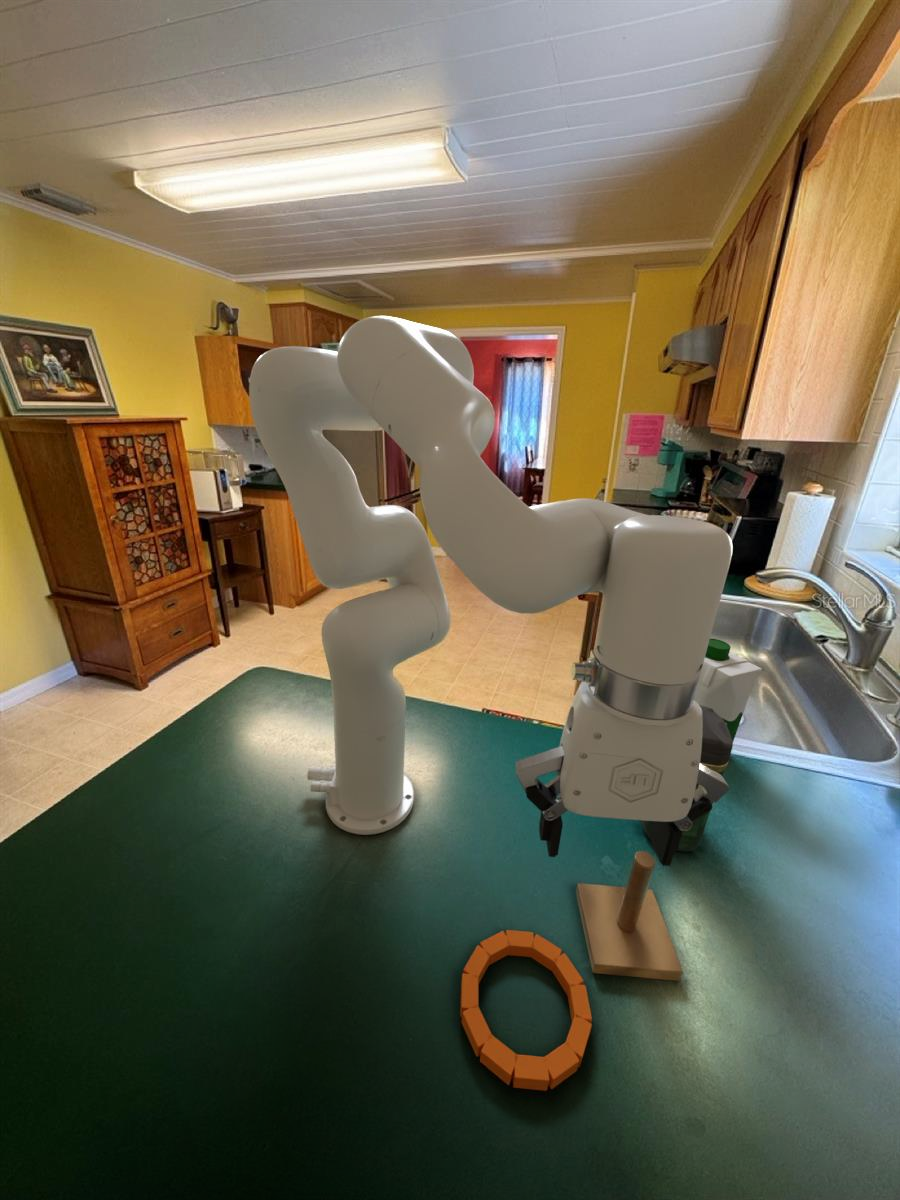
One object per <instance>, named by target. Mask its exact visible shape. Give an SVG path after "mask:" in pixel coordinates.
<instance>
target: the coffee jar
mask: <svg viewBox="0 0 900 1200" xmlns="http://www.w3.org/2000/svg"><path fill="white" fill-rule="evenodd" d="M699 706H700V707H701V709H702V718H703V726H702V748H701V759H700V764H702V765H704V766H706V767H708V768H710V769H711V770H713V771H715V772H717V773H719V774H720V775H722V776H723V775H724V773H725V771H726V768H727V767H728V764H729V762H730V758H731V754H732V752H733V746H734V745H733V744H734V742H733V743H732V738H731V735H730V732H729V730H728V727H727V725H726V723H725V722H724V720H723V719H722V718H721V717H720V716H719V715H718V714H717V713H715V712H714V711H713V709H712V708H709V707H705V706H702V705H699ZM698 786H699V784H697V783H696V788H698ZM710 813H711V811H710V812H708V813H706V814H704V815H703V816H701V817H699V818H697V819H695V820H694V821H692V824H693V826H692V828H691V829H689V830H687V831H683V833H682V836H681V839H680V843H679V846H678V849H677V851H678V852H693V851H695V850H696V849H698V848H699V846H700V844H701V840H702V838H703V836H704V835H703V834H704V832H705V829H706V825H707V822H708V819H709V816H710ZM640 823H641V827H642V830H643V832H644V834H645V835H646V836H647V837H648V838H649V839H650V833H651V829H652V825H653V821H644V820H640Z"/></svg>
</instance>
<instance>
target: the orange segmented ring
mask: <svg viewBox="0 0 900 1200" xmlns="http://www.w3.org/2000/svg"><path fill="white" fill-rule="evenodd" d="M562 951H563V950H562V948H560V947H558V946H557V945H555V944H554V943H552V942H551V941H549V940H548V939H545V938H544V937H543V936H541V935H539V934H538V933H535V935H534V932H532V931H523V930H512V929H506V930H505V931H504V930H501V931H499V932H498V933H495V934H493V935H492V936H490V937H488V938H486V939H484V940H482V941H480V942H479V944H477V945H476V947H475V949H474V951H473V952H472V953H471V955H470V957H469V958H468V961H467V962H466V964H465V966H464V968H463V970H462V971H463V972H462V974H461V981H460V983H461V984H460V1015H459V1016H460V1018H461V1025H462V1027H463V1029H464V1032H465V1034H466V1036H467V1038H468V1041H469V1043H470V1045H471V1047H472V1050H473V1052H474V1055H475V1056H476V1058H477V1057H479V1062H480V1063H481V1064H482V1065H483V1066H485V1068H487V1069H488V1070H489V1071H490V1072H492V1073H493V1074H494V1075H495V1076H497V1077H498V1079H500V1080H501V1081H502V1082H503V1083H505V1084H506V1085H508V1086H510V1084H511V1082H512V1088H515V1089H522V1090H523V1089H524V1090H533V1091H543V1092H547V1091H548V1087H549V1088H550V1090H553V1089H554V1088H556V1087H557V1086H558V1085H560V1084H562V1082H563V1081H565V1080H567V1079H568V1078H569V1077H570V1076H573V1074H574V1073H576V1072H577V1071H578V1068H580V1067H581V1063H582V1061H583V1057H584V1055H585V1051H586V1048H587V1044H588V1041H589V1037H590V1034H591V1030H592V1028H593V1024H592V1022H593V1017H592V1011H591V1006H590V1002H589V996H588V991H587V986H586V985H585V984H584V979H583V977H582V976H581V974H580V973H579V972H578V970H577V969H576V967H575V966H574V964H573V962H572V961H571V960H570V958H569V957H568V955H567V954H566V953H565V952H564V953H562ZM507 956H515V957H526V958H531V959H532V960H534V961H536V962H537V963H539V964H540V965H542V966H543V967H545V968H546V969H547V970H549V971H551V972H552V974H553V975H554V977H555V979H556V980H557V982H558V983H559V985H560V986H561V988H562V989H563V991H564V992H565V995H566V996H567V1002H568V1007H569V1013H570V1020H571V1025H570V1028H569V1031H568V1034H567V1037H566V1040H565V1042H563V1044H561V1045H560V1046H558V1047H556V1048H555V1049H554V1050H551V1052H549V1053H548V1054H546V1055H545V1056H538V1055H529V1054H528V1055H527V1054H517V1053H516V1052H514V1051H513V1050H512V1049H511V1048H509V1047H508V1046H507V1045H506V1044H504V1043H503V1042H502V1041H500V1040H499V1039H498V1038H497V1037H495V1036H494V1035H493V1034H492V1032H491V1030H490V1028H489V1025H488V1024H487V1021H486V1019H485V1017H484V1015H483V1013H482V1011H481V1009H480V1006H479V984H480V983H481V981H482V979H483V977H484V975H485V973H486V971H487V970H488V967H489V966H490V965H493V964H494V963H496V962H497V961H499V960H501V959H503V958H505V957H507Z"/></svg>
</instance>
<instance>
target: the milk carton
mask: <svg viewBox="0 0 900 1200" xmlns="http://www.w3.org/2000/svg"><path fill="white" fill-rule="evenodd" d="M762 671H763V668H762V667H759V666H757V665H756V664H754V663H751V662H749V660H747V659H746V658H744V657H741V656H739V655H737V654H735V653H733V652H731V645H730V644H729V643H728V642H726V641H724V640H721V639H717V638H711V637H710V640H709V644H708V648H707V651H706V655H705V659H704V663H703V667H702V670H701V674H700V677H699V681H698V685H697V689H696V692H695V696H694V701H695V702H696V703H697V704H698V705H702V706H705V707H709V708H712V709H713V711H714V712H715V713H717V714H718V715H719V716H720V717H721V718H722V719H723V720H724V722H725V723H726V725H727V727H728V730H729V732H730V735H731V738H732V743H733V744H734V741H735V738H736V735H737V733H738V730H739V726H740V723H741V721H742V719H743V715H744V713H745V709H746V707H747V704H748V701H749V698H750V695H751V693H752V691H753V688H754V687H755V684H756V683H757V680H758V678H759V677H760V674H761V672H762Z"/></svg>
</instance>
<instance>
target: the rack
mask: <svg viewBox="0 0 900 1200" xmlns="http://www.w3.org/2000/svg"><path fill="white" fill-rule="evenodd" d="M655 865H656V860H655V858H654V857H653V855H652V854H651V853H649V852H647V851H645V850H638V851H636V852H635V854H634V857H633V860H632V864H631V867H630V870H629V875H628V877H627V881H626V886H615V885H603V884H591V883H581V882H580V883H579V882H577V884H576V887H575V888H576V889H575V896H576V900H577V906H578V910H579V915H580V920H581V924H582V928H583V929H582V930H583V933H584V937H585V943H586V944H585V945H586V947H587V948H586V949H587V952H588V957H589V963H590V969H591V972H592V973H593V974H600V975H610V976H611V975H612V976H622V977H633V978H643V979H653V980H664V981H665V980H667V981H675V982H679V981H680V980H681V978H682V977H683V974H684V971H683V968H682V965H681V963H680V960H679V958H678V955H677V953H676V950H675V947H674V944H673V942H672V939H671V936H670V934H669V930H668V927H667V925H666V922H665V920H664V917H663V914H662V911H661V910H660V906H659V904H658V901H657V899H656V896H655V893H654V890H653V889H649V886H650V883H651V881H652V876H653V874H654V870H655Z"/></svg>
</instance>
